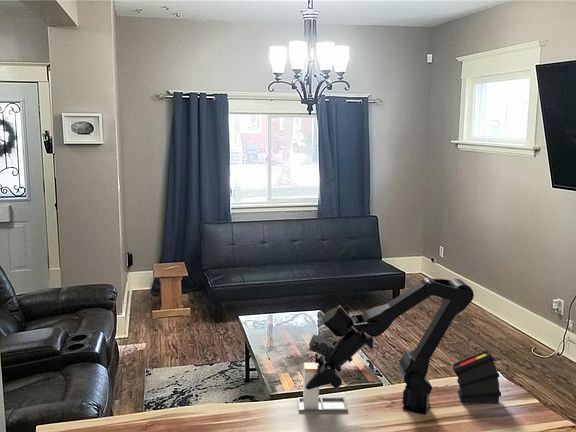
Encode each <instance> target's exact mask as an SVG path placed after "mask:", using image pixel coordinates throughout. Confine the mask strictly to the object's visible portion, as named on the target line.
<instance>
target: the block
mask: <svg viewBox="0 0 576 432" xmlns="http://www.w3.org/2000/svg"><path fill="white" fill-rule="evenodd" d="M317 365H318V366H319V364H318V363H315V362H303V383H302V384H303V385H302V386H303V391H302V394H303V396H302V397H303V405H304V409H319V397H320V386H319V387H316V388H312V389H309V390H308V389H307V388H306V385H307V384H308V383H309V381H310V380H311V379H312V378H313V377H314V375H315V374H316V373H317Z"/></svg>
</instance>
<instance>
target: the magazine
mask: <svg viewBox="0 0 576 432" xmlns="http://www.w3.org/2000/svg"><path fill="white" fill-rule="evenodd" d="M494 361H495V358H494V356H493V355H492V354H491V352H490V351H489V350H483V351H481V352H479V353H476V354H474V355H472V356H470V357H467V358H465V359H464V358H463V360H460V361H457V362H455V363H453V364H452V366H453V367H452V370H453V371H454V374H455V375H456V376H457V379H456V382H457V384H458V386H459V390H457V394H458V398H459V400H460V402H461V403H463V404H464V403H465V404H495V405H496V404H499V403H500V397H501V396H502V391H500V383H499V378H500V373H499V372H498V370H497V367H496V364H495V362H494Z"/></svg>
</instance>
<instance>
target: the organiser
mask: <svg viewBox="0 0 576 432" xmlns="http://www.w3.org/2000/svg"><path fill="white" fill-rule="evenodd" d="M296 399H297V408H298V413H300V414H302V413H303V414H304V413H306V414H307V413H309V414H310V413H311V414H312V413H313V414H314V413H315V414H316V413H318V414H319V413H349V408H348V404H347V402H346V401H347V400H346V398H345V396H343V397H342V396H334V397H333V396H331V397H330V396H329V397H327V396H325V397H324V396H323V397H322V396H319V409H304V405H303V396H302V397H301V396H299V397H297V398H296Z"/></svg>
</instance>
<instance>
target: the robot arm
mask: <svg viewBox="0 0 576 432" xmlns="http://www.w3.org/2000/svg"><path fill="white" fill-rule="evenodd" d="M431 296H434V297H438V298H441V302H440V303H441V304H440V306H439V308H438V310H437V312H436V313H435V315H434V316H433V318H432V320H431V322H430V323H429V325H428V326H427V328H426V330H425V332H424V333H423V336H422V337H421V338H420V340H419V343H418V344H417V346H416V347H415V348H414V349H413V350H412V351H410V352H409V351H408V350H405V351H404V353H403V355H402V357H401V359H400V360H398V363H399V365H398V371H399V373H400V376H401V377H402V379H403V381H404V383H405V384H406V385H405V387H404V389H403V392H402V405H403V406H402V410H404V411H407V412H410V413H411V412H412V413H414V414H415V413H416V414H420V415H426V414H427V413H428V410H429V408H430V407H431V403H430V394H431V392H432V390H433V386H432V384H431V383H430V381H429V380H428V378H427V374H428V371H429V365H430V360H431V358H432V356H433V355H434V353H435V351H436V349H437V347H438V346H439V344H440V343H441V341H442V339H443V337H444V336H445V334H446V332H447V331H448V329H450V328H449V327H450V325H451V324H452V322H453V320H454V319H455V318H456V316H457V315H459V314H460V313H462V312H463V311H465V310H466V309H467V307H469V305H470V304H471V302H472V301H473V300H474V297H475V294H474V290H473V288H472V287H470V285H468V284H467V283H466V282H465V281H463V280H462V279H460V278H453V279H446V278H445V279H444V278H433V277H425V278H422V280H421V281H420V282H417V284H414V285H413V286H412V287H410V288H409V289H407V290H406V291H404V292H403V293H401V294H400V295H398V296H396V297H395V298H394V299H392V300H390V301H388V302H387V303H385V304H383V305H378V306H377V305H376V306H375V307H372V308H369V309H367V310H365V311H364V312H363V313H355V314H351V315H350V314H349V313H347V311H346V310H344V308H343V306H341V305H340V304H339V305H338V306H336V307H333V308H332V309H329V310H327V312H326V313H325V314H324V315H323V317H322V319H321V323H322V324H323V325H324V326H325V327H326V328H327V329H328V330H329V332H331V333H332V334H333V335H334V336H335V337H340V338H339V339H333V340H332V341H330V340H327V339H326V338H323V337H321V336H319V335H317V334H312V335H313V336H312V337H311V339H310V341H309V344H308V347H309V348H308V349H309V351H311V352H313V353H314V363H318V364H319V366H318V365H317V373H316V374H315V375H314V377H313V378H312V379H311V380H310V381H309V383H308V384H307V385H306V388H307V389H308V390H309V389H312V388H316V387H319V388H320V387H323V386H327V385H331V386H333V388H334V389H335V390H338V389H339V388H340V387H341V386H342V384H343V379H342V376H341V373H340V372H342V367H343V366H344V365H345V364H346V363H347V362H348V363H350V362H351V363H352V361H353V357H354V356H355V354H357V353H358V352H359V351H360V350H361V349H362V348H363V347H364V346H365V345H366V346H368V348H369V349H371V350H372V349H374V340H375V339H374V338H377V337H379V336H382V334H383V333H385V332H386V331H387V330H388V329H389V328H390V327H391V325H392V324H393V322H394V321H395V320H397V318H399V317H400V316H402V315H404V314H405V313H406V312H409V311H410V310H411V309H413V308H414V307H416V306H418V305H419V304H421V303H422V302H424V301H426V299H427V300H428V299H429V297H431Z"/></svg>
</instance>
